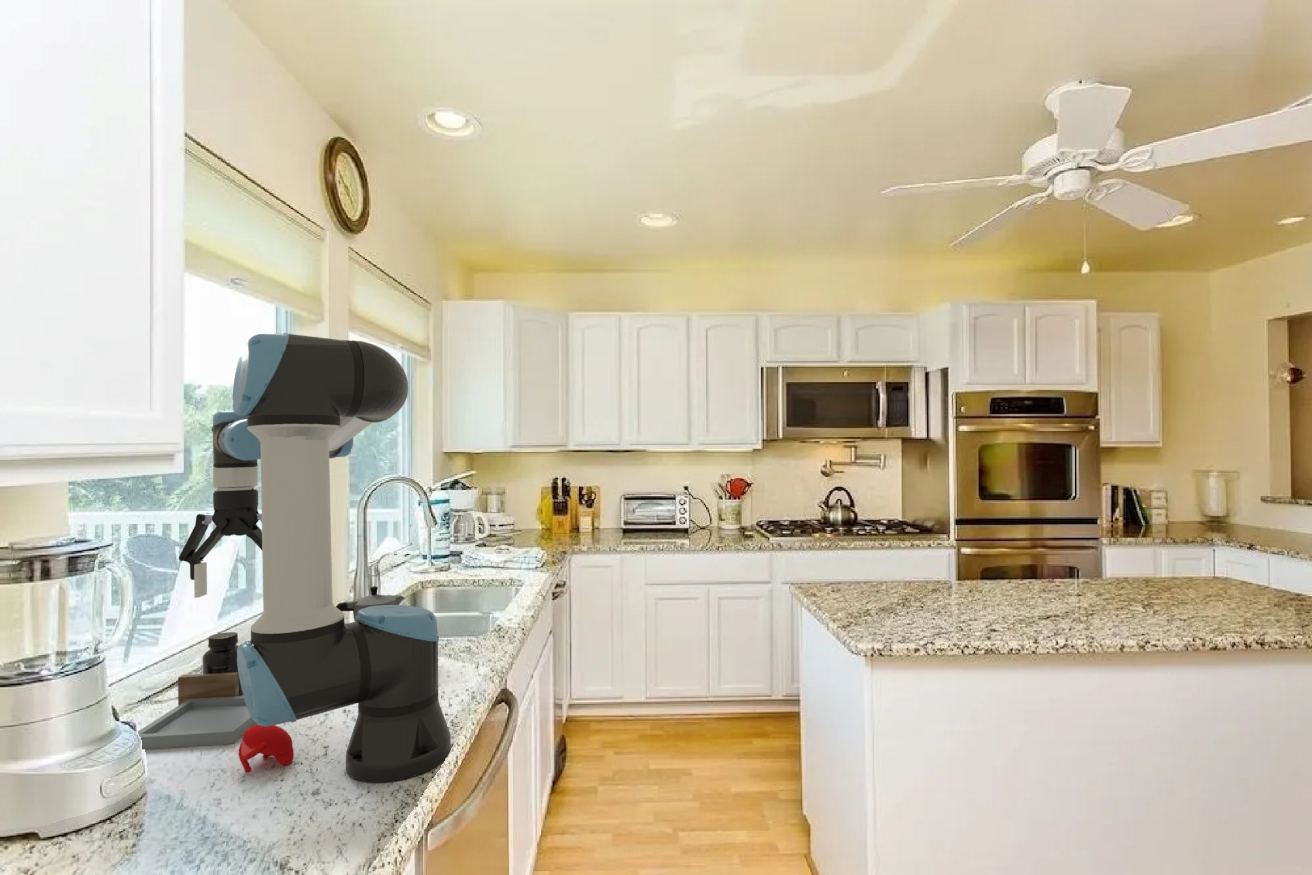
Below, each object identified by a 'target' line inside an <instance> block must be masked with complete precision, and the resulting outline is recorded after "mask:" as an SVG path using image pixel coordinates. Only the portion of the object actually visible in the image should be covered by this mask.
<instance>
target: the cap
mask: <svg viewBox="0 0 1312 875" xmlns="http://www.w3.org/2000/svg"><path fill="white" fill-rule="evenodd" d="M259 754H260V755H261V754H262V758H263V759H268V758H270V757H274V759H275V761H276V762H277V763H278V764H280V765H282V766H284V767H285V766H290V765H291V763H292V762H293V760H294V755H295V754H294V747H293V739H292V737H291V735H290V733H288V732H287V731H286V730H285V729H284V728H282V727H280V726H278V725H273V726H267V727H264V726H260V725H258V724H256V725H254V726H252V727H250V728H248V729H247V730H246V731H245V732H244V734H243V736H242V740H241V742H240V743H239V747H238V758H239V761H240V764H241V765H242V767H243V769H244V772H245V773H249V772H250V771H251V770H252V768H251V765H250V763H249V760H251V759H253V758H254V757H255V756H257V755H259Z"/></svg>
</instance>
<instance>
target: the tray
mask: <svg viewBox="0 0 1312 875" xmlns="http://www.w3.org/2000/svg"><path fill="white" fill-rule="evenodd" d="M254 725H257V724H256V723H255V722H254V721H253V719H252V718H251V716H250V714H249V712H248V709H247V706H246V703H245V699H244V696H243V695H240V696H232V697H215V698H197V699H188V700H186V701H185V702H183V703H182V704H180V705H179V706H178V705H177V706H175V707H174V708H172V709H171V710H169V711H168V712H165V714H163V715H161V716H160V717H159V718H156V719H155V720H154V721H152V722H150V723H149V724H147V725H146V726H144V727H143V728H141V729H140V730H138V731H137V732H138V734H139V736H140V737H141V740H142V750H155V749H156V750H157V749H169V748H170V749H171V748H185V747H186V748H187V747H189V748H190V747H200V746H203V747H204V746H217V745H220V746H221V745H233V744H235V743H236V742H237V741H238V740H239V739H240V738H242V737H243V734H244V732H245V731H246V730H247V729H248V728H250V727H252V726H254Z"/></svg>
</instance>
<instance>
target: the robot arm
mask: <svg viewBox="0 0 1312 875" xmlns="http://www.w3.org/2000/svg"><path fill="white" fill-rule="evenodd" d="M242 345H243V346H242V347H241V350H240V353H239V356H238V360H237V364H236V368H235V374H234V381H233V386H232V400H233V401H232V411H231V410H224V411H217V412H215V413H214V414H213V417H212V427H211V432H212V455H213V457H212V460H213V461H212V462H213V463H212V464H213V466H212V467H213V468H212V487H213V488H214V489H216V490H214V491H213V492H212V494H213V495H212V501H213V502H212V507H213V510H214V512H213V513H211V514H210V513H209V512H204V513H198V514H196V517H195V525H194V526H193V529H192V530H191V533H190V534H189V536H188V539H187V541H186V542H185V544H184V547H182V548H183V549H182V550H181V552H180V554H179V556H178V560H179V561H180V562H186V563H188V564H189V578H190V580H191V581H194V582H193V583H194V585H193V586H194V594H193V595H194V597H193V598H194V599H195V598H201V597H203V596H206V595H207V594H208V579H207V578H208V574H207V573H208V572H207V571H208V570H207V568H208V566H207V565H208V564H207V563H208V562H207V561H204V560H205V558H206V557H207V555H208V554H209V553H210V552H211V551H212V550H213V549H214V547H215V546H216V545H217V543H219V542H220V540H222V538H223V537H230V536H237V537H238V536H239V537H241V536H247V538H249V539H250V540H252V541H253V542H254V544H256V546H257V547H258V548H259V549H260V550H261V551H262V600H263V601H262V602H263V603H262V606H263V612H262V615H260V616H259V617H258V619H257V620H255V622H253V624H252V625H251V626H250V640H245V641H244V642H243V643H240V644H238V648H237V666H238V673H239V679H240V683H241V688H242V692H243V693H242V696H244V699H245V703H246V706H247V709H248V712H249V714H250V716H251V718H252V719H253V721H254V722H255V723H256V725H260V726H264V727H267V726H273V725H275V726H278V725H282V724H285V723H295V722H297V721H298V720H302V719H306V718H309V717H313V716H317V715H320V714H324V713H326V712H330V711H331V712H332V711H334V710H338V709H342V708H345V707H350V706H352V705H357V708H358V709H357V718H356V720H355V724H354V727H353V728H352V733H351V736H350V738H349V743H348V746H347V749H346V752H345V771H346V773H347V774H348V776H349V777H351V778H353V779H355V780H358V781H362V782H369V783H370V782H371V783H386V782H387V783H388V782H394V781H400V780H406V779H409V778H413V777H415V776H418V775H422V774H424V773H427V772H428V771H430V770H432V769H434V768H436V767H437V766H439V765H440V764H441V763H443V762H444V761H445V760H446V759H447V758H448V757H449V755H450V753H451V750H452V748H451V745H452V744H451V733H450V732H451V731H450V729H449V727H448V724H447V722H446V721H447V720H446V717H445V716H444V713H443V710H442V707H441V704H440V702H439V642H440V641H439V640H440V637H439V632H438V622H437V618H436V615H435V614H434V613H433V612H432V611H431V610H429V609H427V608H424V607H419V606H413V605H402V604H399V605H381V606H371V607H367V608H363V609H361V610H359V611H358V613H357V616H356V620H357V621H356V622H355V621H353V622H349V623H345V622H346V621H345V620H346V619H345V613H344V611H340V610H339V609H338V608H337V607H336V606H335V605H334V602H333V568H332V565H333V563H332V528H331V527H332V523H331V522H332V520H331V519H332V518H331V484H330V483H331V479H330V477H331V476H330V473H331V472H330V459H335V458H344V457H348V456H349V455H350V454H351V452H352V449H353V447H354V438H355V437H356V436H357V435H359V434H360V433H361V432H363V431H364V430H365V429H367V428H368V427H369V426H371V425H372V424H373V423H381V422H384V421H385V422H386V421H387V420H388V419H390V418H392V417H393V416H394V415H396V414H397V413H398V412H399V411H400V410H401V409H402V408H403V406H404V405H405V403H406V401H407V398H408V395H409V394H408V393H409V381H408V377H407V374H406V372H405V370H404V368H403V366H402V365H401V363H400V362H399V361H398V360H397V358H395V357H394V356H393V355H392V354H391V353H390V352H388V351H386V350H385V349H383V348H382V347H381V346H377V345H376V344H373V343H369V342H366V341H362V340H361V341H360V340H353V339H352V340H349V339H348V340H347V339H339V338H331V337H330V338H329V337H322V336H321V337H320V336H311V335H304V334H303V335H302V334H293V333H288V332H287V333H286V332H284V333H263V332H262V333H260V332H257V333H254V334H252V335H250V336H248V338H247V339H246V340H245V342H244V343H243V344H242ZM258 460H260V489H261V490H260V492H261V495H260V496H261V497H260V498H261V513H259V510H258V507H259V490H258V489H257V488H255V487H257V486H258V485H259V483H258V482H259V473H258V472H259V468H258V467H259V464H258ZM259 521H260V522H261V528H260V527H259V526H258V525H257V523H259ZM212 523H213V524H214V525H215V528H214V529H213V530H212V531H211V532H210V533H209V536H208V537H207V538H206V539H205V540H204V541H203V542H202V544H201V541H202V539H203V538H204V536H205V534H206V532H207V530H208V528H209V526H210V525H211V524H212ZM200 544H201V545H200ZM199 545H200V546H199Z"/></svg>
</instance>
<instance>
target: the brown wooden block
mask: <svg viewBox="0 0 1312 875" xmlns="http://www.w3.org/2000/svg"><path fill="white" fill-rule="evenodd" d="M232 696H239V676H238V672H234V673H215V674H203V673H201V674H182V675H180V676H178V677H177V698H178V699H177V700H178V701H177V702H178V703H177V704H178V705H177V706H179V705H180V704H182V703H183V702H185V701H186V700H188V699H197V698H215V697H232Z"/></svg>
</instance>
